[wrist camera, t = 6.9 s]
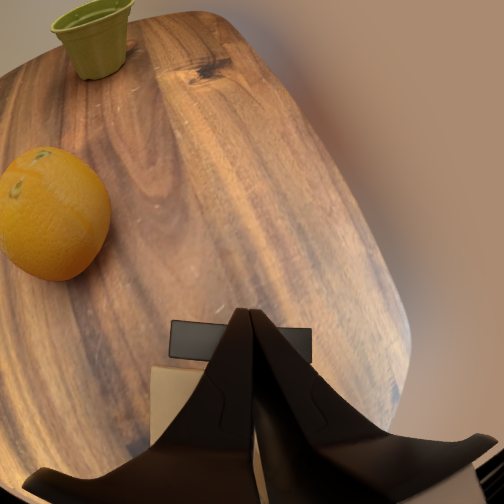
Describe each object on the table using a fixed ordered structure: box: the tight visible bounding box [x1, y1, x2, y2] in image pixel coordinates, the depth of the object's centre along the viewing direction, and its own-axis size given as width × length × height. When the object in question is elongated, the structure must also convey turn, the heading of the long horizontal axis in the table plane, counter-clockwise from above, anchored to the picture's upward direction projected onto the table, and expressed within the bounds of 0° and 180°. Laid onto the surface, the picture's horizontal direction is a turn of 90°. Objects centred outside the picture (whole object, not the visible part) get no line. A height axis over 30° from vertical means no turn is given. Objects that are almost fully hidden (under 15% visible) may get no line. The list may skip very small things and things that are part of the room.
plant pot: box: [50, 0, 135, 80], centre depth 19 cm, size 9×9×9 cm
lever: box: [169, 320, 312, 504], centre depth 8 cm, size 10×5×2 cm, turn 177°
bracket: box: [150, 365, 269, 504], centre depth 10 cm, size 12×9×11 cm
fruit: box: [0, 147, 111, 281], centre depth 14 cm, size 9×8×8 cm
